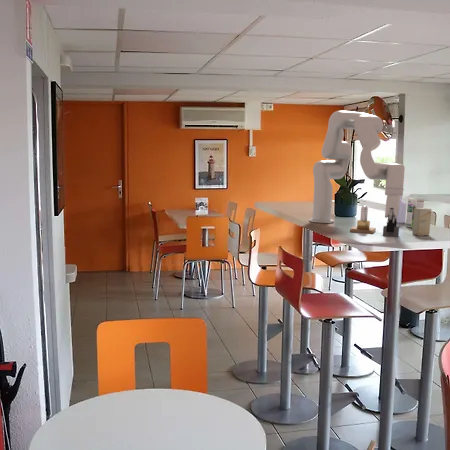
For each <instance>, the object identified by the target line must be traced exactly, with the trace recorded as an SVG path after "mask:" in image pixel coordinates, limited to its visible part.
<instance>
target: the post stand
mask: <svg viewBox="0 0 450 450" xmlns="http://www.w3.org/2000/svg"><path fill="white" fill-rule="evenodd" d="M360 208H361V209H360V219H358V220H357V221H356V226H355V225H353V226H352V227H351V228H350V230H349V233H358V234H371V235H373V234H374V233H376V227H370V224H371V221H370V220H368V211H369V208H368V206H366V205H363V206H361V207H360Z"/></svg>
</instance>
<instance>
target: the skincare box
mask: <svg viewBox="0 0 450 450" xmlns="http://www.w3.org/2000/svg"><path fill="white" fill-rule="evenodd" d="M431 219H432V209H431V208H426V207H423V208H414V220H413V228H412V231H411V232H412V233H411V234H412V235H414V236H418V237H419V236H424V235H429V236H430V231H431V230H430V227H431V221H432V220H431Z"/></svg>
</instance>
